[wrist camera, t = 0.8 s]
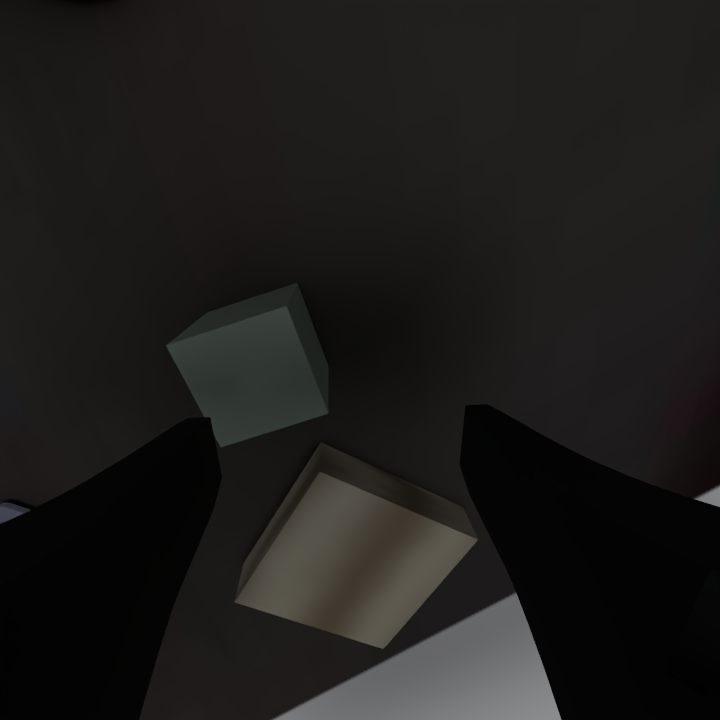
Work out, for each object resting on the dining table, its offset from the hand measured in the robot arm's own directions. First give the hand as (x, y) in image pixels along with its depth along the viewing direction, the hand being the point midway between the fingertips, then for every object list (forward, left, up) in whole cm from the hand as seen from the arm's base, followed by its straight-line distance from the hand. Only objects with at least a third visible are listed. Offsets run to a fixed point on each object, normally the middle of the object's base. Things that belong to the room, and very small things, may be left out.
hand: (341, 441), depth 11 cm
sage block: (-3, -1, -9) cm, 9 cm away
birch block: (+7, -10, -9) cm, 16 cm away
